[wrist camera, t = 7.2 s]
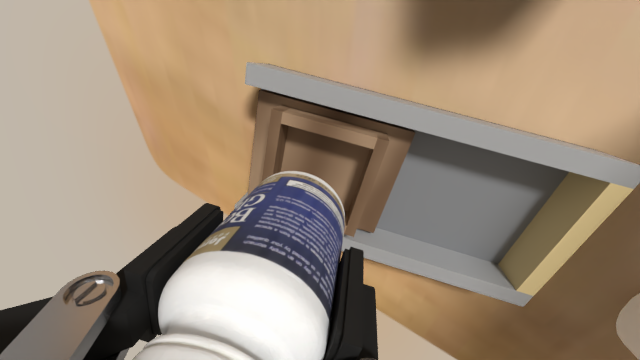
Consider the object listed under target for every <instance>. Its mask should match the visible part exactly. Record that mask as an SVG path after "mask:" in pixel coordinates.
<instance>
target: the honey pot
mask: <svg viewBox="0 0 640 360" xmlns="http://www.w3.org/2000/svg"><path fill="white" fill-rule="evenodd" d="M616 330H617V335H618V336H619V338H620V339H621V341H622V342H623V344H624V345H625V346H626V347H627V348H628V349H629V350H630V351H631V352H632V353H633V354H634V355H635V356H636V358H637V359H638V360H640V293H639V294H637V295H636V296H634V297H633V298H632V299H630V300H629V302H628V303H627V304H626V305H625V306H624V307H623V309H622V310H621V311H620V313H619V316H618V318H617V321H616Z"/></svg>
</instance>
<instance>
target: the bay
mask: <svg viewBox="0 0 640 360" xmlns="http://www.w3.org/2000/svg"><path fill="white" fill-rule="evenodd" d="M245 84H247V85H250V86H254V87H258V88H261V90H269V91H273V92H276V93H280V94H284V95H287V96H291V97H295V98H299V99H302V100H306V101H310V102H313V103H317V104H321V105H325V106H328V107H332V108H336V109H339V110H343V111H347V112H350V113H354V114H358V115H362V116H365V117H369V118H373V119H376V120H380V121H384V122H387V123H391V124H395V125H399V126H402V127H406V128H410V129H413V130H414V131H415V135H414V138H413V140H412V142H411V145H410V147H409V150H408V152H407V154H406V157H405V159H404V162H403V164H402V166H401V169H400V171H399V174H398V176H397V178H396V181H395V183H394V186H393V188H392V190H391V193H390V195H389V198H388V200H387V202H386V205H385V207H384V209H383V212H382V214H381V217H380V219H379V221H378V224H377V226H376V229H375V231H374V233H371V232H368V231H364V230H361V229H358V228H357V230H356V232H355V235H354V237H352V236H348V235H345V234H344V236H343V243H342V250H341V251H344V250H345V249H350V247H354V248H357V249H360V250H363V252H364V258H366V259H370V260H373V261H376V262H379V263H383V264H386V265H389V266H392V267H395V268H399V269H402V270H405V271H408V272H412V273H415V274H418V275H421V276H425V277H428V278H431V279H434V280H438V281H441V282H444V283H447V284H450V285H454V286H457V287H460V288H463V289H467V290H470V291H473V292H476V293H480V294H483V295H486V296H489V297H493V298H496V299H499V300H502V301H505V302H509V303H512V304H515V305H518V306H522V307H524V306H525V305H526V304H527V303H528V302H529V300H530V299H531V298H532V297H533V296H534V295H535V294H536V293H537V292H538V291H539V290H540V289H541V288H542V287H543V286H544V284H545V283H546V282H547V281H548V280H549V279H550V278H551V277H552V276H553V275H554V274H555V273H556V272H557V271H558V270H559V268H560V267H561V266H562V265H563V264H564V263H565V262H566V261H567V260H568V259H569V258H570V257H571V256H572V255H573V254H574V252H575V251H576V250H577V249H578V248H579V247H580V246H581V245H582V244H583V243H584V242H585V241H586V240H587V239H588V238H589V236H590V235H591V234H592V233H593V232H594V231H595V230H596V229H597V228H598V227H599V226H600V225H601V224H602V223H603V222H604V220H605V219H606V218H607V217H608V216H609V215H610V214H611V213H612V212H613V211H614V210H615V209H616V208H617V207H618V206H619V205H620V203H621V202H622V201H623V200H624V199H625V198H626V197H627V196H628V195H629V194H630V193H631V192H632V191H633V190H634V189H635V187H636V186H637V185H638V184H639V183H640V165H639V164H636V163H633V162H630V161H627V160H624V159H621V158H618V157H615V156H612V155H609V154H606V153H603V152H600V151H597V150H594V149H590V148H587V147H583V146H579V145H575V144H571V143H568V142H564V141H560V140H556V139H552V138H549V137H545V136H541V135H537V134H533V133H530V132H526V131H522V130H518V129H514V128H510V127H507V126H503V125H499V124H495V123H491V122H488V121H484V120H480V119H476V118H472V117H469V116H465V115H461V114H457V113H453V112H450V111H446V110H442V109H438V108H434V107H431V106H427V105H423V104H419V103H415V102H412V101H408V100H404V99H400V98H396V97H393V96H389V95H385V94H381V93H377V92H373V91H370V90H366V89H362V88H358V87H354V86H351V85H347V84H343V83H339V82H335V81H332V80H328V79H324V78H320V77H316V76H313V75H309V74H305V73H301V72H297V71H294V70H290V69H286V68H282V67H278V66H275V65H271V64H263V63H251V62H247V65H246V77H245ZM247 196H248V192H247V193H246V194H245V195H244V196H243V197H242V198H241V199H240V200H239V201H238V202H237V203H236V204H235V209H236V207H237V206H238V205H239V204H240V203H241V202H242V201H243V200H244V199H245V198H246V197H247Z"/></svg>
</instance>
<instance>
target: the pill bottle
mask: <svg viewBox="0 0 640 360" xmlns="http://www.w3.org/2000/svg"><path fill="white" fill-rule="evenodd" d="M344 229H345V212H344V208H343V205H342V202H341V200H340V198H339V196H338V195H337V193H336V192H335V191H334V190H333V188H332V187H331V186H330V185H328V184H327V183H326V182H325V181H323V180H322V179H320V178H318V177H316V176H314V175H311V174H308V173H305V172H299V171H284V172H279V173H276V174H274V175H271V176H270V177H268V178H266V179H265V180H264V181H262V182H261V183H260V184H259V185H258V186H257V187H256V188H255V189H254V190H253V191H252V192H251V193H250V194H249V195H248V196H247V197H246V198H245V199H244V200H243V201H242V202H241V203H240V204H239V205H238V206H237V207H236V209H234V210H233V211H232V212H231V213H230V215H229V216H228V217H227V218H226V219H225V220H224V221H223V222H222V223H221V224H220V225H219V226H218V227H217V228H216V229H215V230H214V231H213V232H212V233H211V234H210V235H209V236H208V237H207V238H206V239H205V240H204V242H203V243H202V244H201V245H200V246H199V247H198V248H197V249H196V250H195V251H194V252H193V253H192V254H191V255H190V256H189V257H188V258H187V259H186V260H185V261H184V262H183V263H182V265H181V266H180V267H179V268H178V269H177V270H176V272H175V273H174V274H173V275H172V276H171V278H170V279H169V280H168V282H167V283H166V285H165V287H164V289H163V291H162V294H161V297H160V300H159V307H158V320H159V326H160V330H161V333H162V336H159V337H156V338H154V339H153V340H151V341H150V342H149V343H147V344H146V346H145V347H144V349H143V350H142V351H141V352H139V353H138V354H137V355H136V356H135V357H134V358H133V360H323V358H324V356H325V352H326V348H327V343H328V338H329V332H330V326H331V320H332V312H333V305H334V298H335V291H336V283H337V276H338V270H339V263H340V256H341V250H342V243H343V236H344Z"/></svg>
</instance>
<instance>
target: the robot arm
mask: <svg viewBox="0 0 640 360" xmlns="http://www.w3.org/2000/svg"><path fill="white" fill-rule="evenodd" d="M222 222H223V211H220V207H219V206H215V205H212V204H209V203H206V204H204V205H203V206H202V207H200V208H199V209H198V210H197V211H195V212H194V213H193V214H192V215H191V216H190V217H188V218H187V219H186V220H185V221H183V222H182V223H181V224H179V225H178V226H177V227H174V228H172V229H171V230H170V231H168V232H167V233H166V234H165V235H163V236H162V237H161V238H160V239H159V240H157V241H156V242H155V243H154V244H152V245H151V246H150V247H149V248H148V249H146V250H145V251H144V252H143V253H141V254H140V255H139V256H137V257H136V258H135V259H134V260H133V261H131V262H130V263H129V264H127V265H126V266H125V267H124V268H122V269H121V270H120V271H119V272H118V273H117V274H115V273H113V272H109V271H95V272H91V273H87V274H84V275H82V276H79V277H77V278H75V279H73V280H72V281H70V282H68V283H67V284H66V285H65V286H64V287H62V288H61V289H60V291H59V292H58V293H57V294H56V295H55V296H54V297H50V298H46V299H43V300H39V301H35V302H31V303H28V304H23V305H20V306H16V307H12V308H8V309H4V310H0V360H124V358H125V356H126V354H127V352H128V350H129V348H131V347H133V346H134V345H135V344H136V342H137V341H138V340H139V339H140V340H143V341H146V342H150V341H151V340H153V339H154V338H155V337H156V335H157V334H158V335H161V334H162V333H161V330H160V326H159V320H158V307H159V300H160V297H161V294H162V291H163V289H164V287H165V285H166V283H167V282H168V280H169V279H170V278H171V276H172V275H173V274H174V273H175V272H176V270H177V269H178V268H179V267H180V266H181V265H182V263H183V262H184V261H185V260H186V259H187V258H188V257H189V256H190V255H191V254H192V253H193V252H194V251H195V250H196V249H197V248H198V247H199V246H200V245H201V244H202V243H203V242H204V240H205V239H206V238H207V237H208V236H209V235H210V234H211V233H212V232H213V231H214V230H215V229H216V228H217V227H218V226H219V225H220V224H221V223H222ZM363 260H364V252H363V250H360V249H357V248H354V247H350V249H345V250H344V252H343V255H342V258H341V261H340V263H339V270H338V276H337V283H336V291H335V298H334V305H333V312H332V320H331V326H330V332H329V338H328V343H327V348H326V352H325V356H324V358H323V360H378V346H377V324H376V299H375V289H374V287H371V286H368V285H365V284H363Z"/></svg>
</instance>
